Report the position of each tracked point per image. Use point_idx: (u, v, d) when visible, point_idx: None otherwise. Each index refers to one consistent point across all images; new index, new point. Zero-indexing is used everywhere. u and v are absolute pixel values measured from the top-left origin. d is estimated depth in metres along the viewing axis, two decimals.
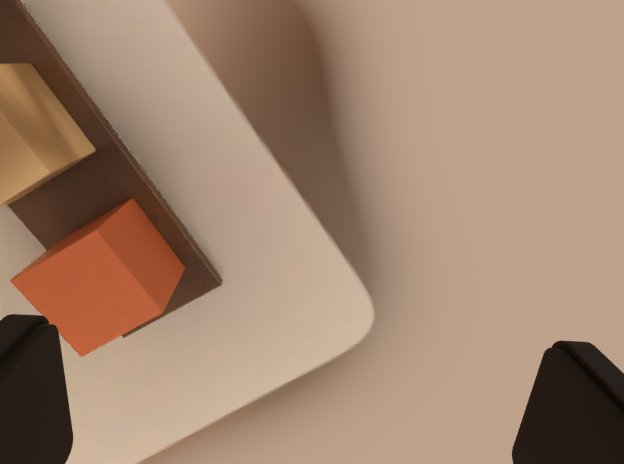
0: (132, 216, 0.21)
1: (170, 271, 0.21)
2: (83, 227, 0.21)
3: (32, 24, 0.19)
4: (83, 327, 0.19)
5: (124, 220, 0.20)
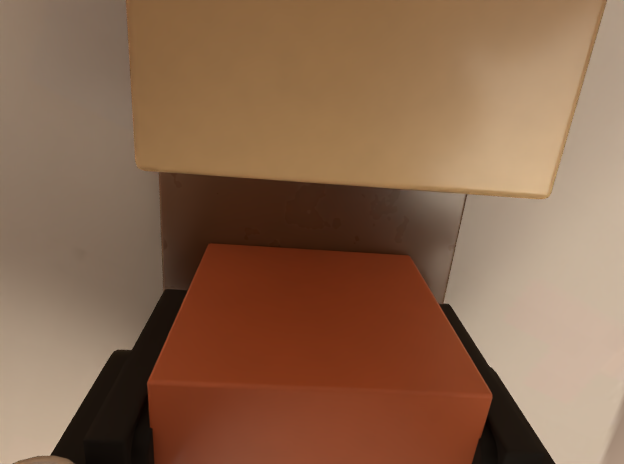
0: None
1: None
2: (289, 258, 0.09)
3: None
4: None
5: None
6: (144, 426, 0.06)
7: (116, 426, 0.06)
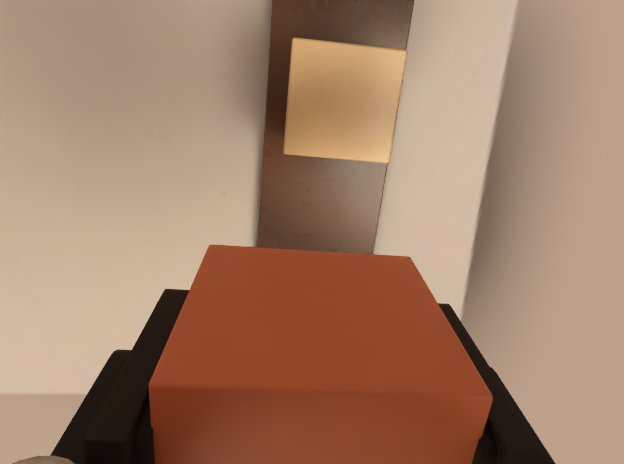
0: None
1: None
2: (289, 260, 0.09)
3: (409, 27, 0.21)
4: None
5: None
6: (144, 426, 0.06)
7: (116, 426, 0.06)
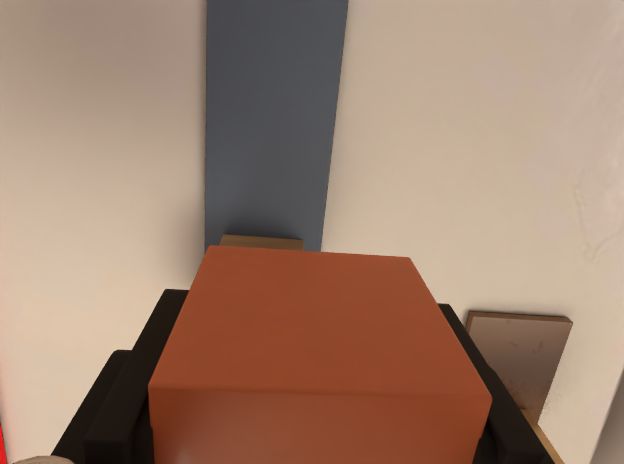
0: None
1: None
2: (289, 260, 0.09)
3: (546, 394, 0.30)
4: None
5: None
6: (144, 426, 0.06)
7: (116, 426, 0.06)
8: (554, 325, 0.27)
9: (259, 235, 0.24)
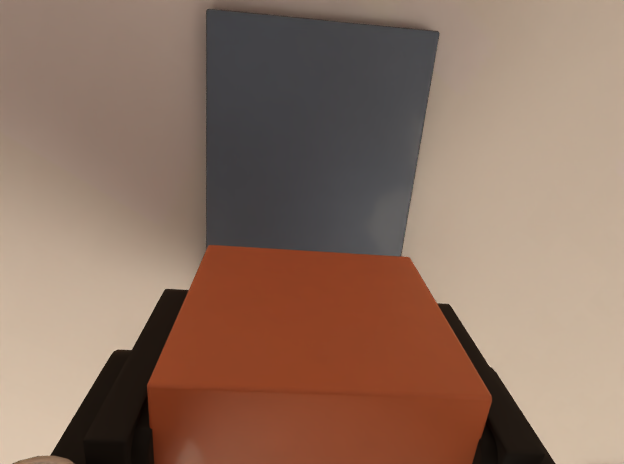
0: None
1: None
2: (289, 260, 0.09)
3: None
4: None
5: None
6: (144, 426, 0.06)
7: (116, 426, 0.06)
8: None
9: None
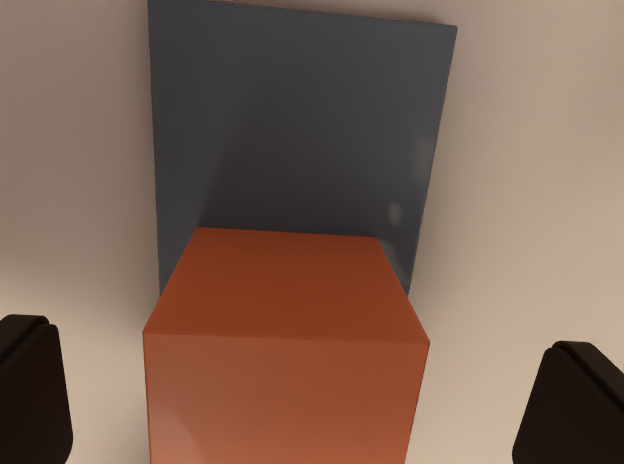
0: None
1: None
2: (267, 239, 0.10)
3: None
4: None
5: None
6: None
7: None
8: None
9: None
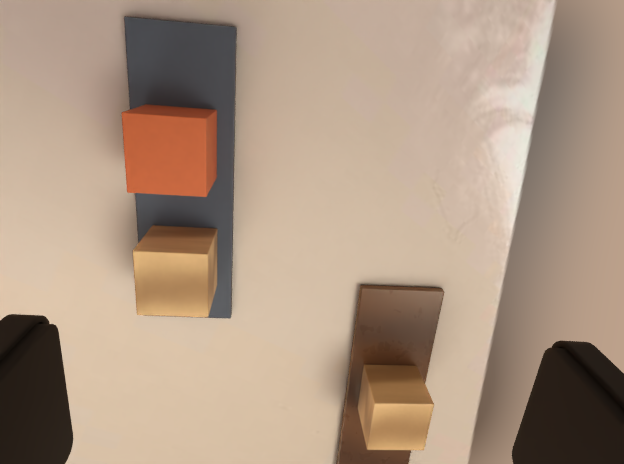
0: (214, 122, 0.27)
1: (213, 173, 0.28)
2: (171, 107, 0.27)
3: None
4: (145, 173, 0.25)
5: (212, 122, 0.26)
6: None
7: None
8: (428, 294, 0.34)
9: (181, 225, 0.31)
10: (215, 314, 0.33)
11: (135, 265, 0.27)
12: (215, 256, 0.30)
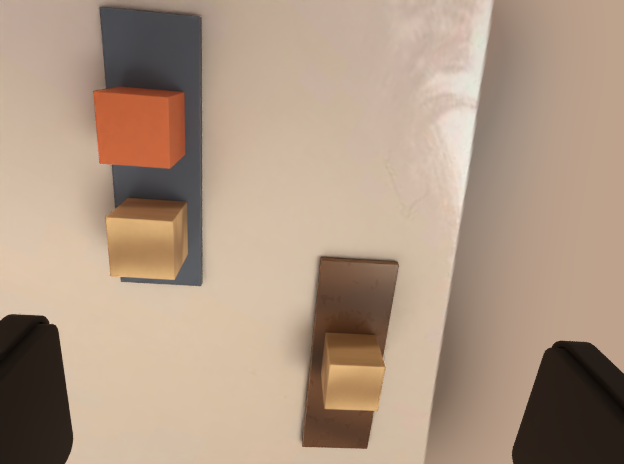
0: (180, 103, 0.30)
1: (180, 149, 0.31)
2: (142, 89, 0.30)
3: (388, 322, 0.39)
4: (115, 146, 0.28)
5: (177, 102, 0.29)
6: None
7: None
8: (384, 267, 0.37)
9: (154, 198, 0.34)
10: (187, 282, 0.36)
11: (108, 230, 0.30)
12: (184, 226, 0.33)
